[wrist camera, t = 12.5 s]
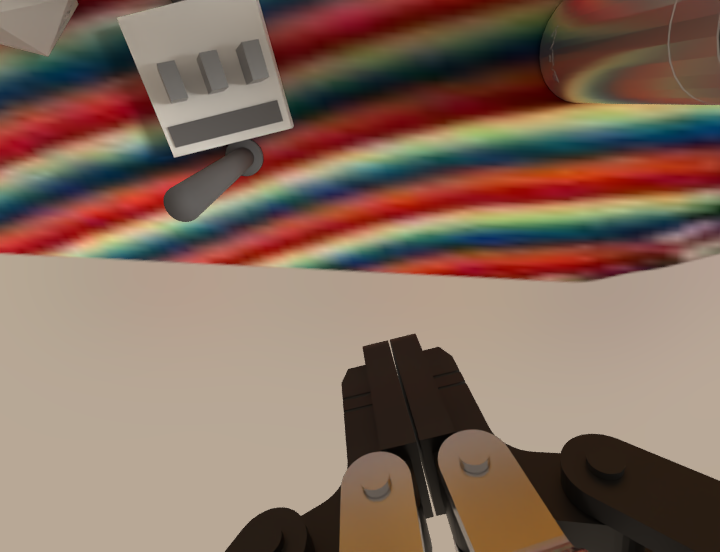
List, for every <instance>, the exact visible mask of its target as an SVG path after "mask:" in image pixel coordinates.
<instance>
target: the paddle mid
mask: <svg viewBox="0 0 720 552" xmlns="http://www.w3.org/2000/svg"><path fill="white" fill-rule="evenodd" d="M197 63H198V66H199V69H200V71H201V74H202V77H203V80H204V83H205V86H206V88H207V91H208V94H213V93H218V92H222V91H225V90H226V89H227V88H228V87H229V86H228V83H227V80H226V77H225V74H224V71H223V68H222V65H221V62H220V59H219V56H218V53H217V50H211V51H206V52H201V53H199V54H198V57H197Z"/></svg>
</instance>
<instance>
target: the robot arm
mask: <svg viewBox="0 0 720 552" xmlns="http://www.w3.org/2000/svg"><path fill="white" fill-rule="evenodd" d="M539 59H540V67H541V72H542V75H543V78H544V81H545V83H546V84H547V86H548V87H549V89H550V90H551V91H552V92H553V93H554V94H555V95H556V96H557V97H559V98H561V99H563V100H565V101H569V102H573V103H605V104H688V105H720V0H563V2H562V3H561V4H560V5H559V6H558V7H557V8H556V10H555V11H554V13H553V14H552V16H551V18H550V19H549V21H548V23H547V26H546V28H545V30H544V33H543V37H542V41H541V45H540V57H539ZM390 343H391V348H392V352H393V356H394V361H395V364H394V361H393V357H392V354H391V350H390V347H389V343H388V341H383V342H379V343H375V344H371V345H367V346H363V352H364V358H365V364H366V365H363V366H359V367H355V368H351V369H348V371H347V373H346V375H345V377H344V379H343V382H342V395H343V408H344V421H345V433H346V446H347V459H348V468H347V471H346V473H345V474H344V476H343V479H342V483H341V486H340V487H339V489H338V490H337V491H336V492H335V494H334V495H333V496H331V497H330V498H329V499H328V500H327V501H325V502H324V503H322V504H321V505H319V506H317V507H316V508H314V509H312V510H311V511H309V512H307V513H305V514H304V515H302V516H300V515H299V514H298V513H297V512H295V511H294V510H291V509H289V508H273V509H270V510H267V511H265V512H263V513H261V514H259V515H257V516H256V517H255V518H253V519H252V520H251V521H250V522H249V523H248V524H247V525H246V526H245V527H244V528H243V529H242V531H241V532H240V533H239V535H238V536H237V537H236V538H235V540H234V541H233V542H232V543H231V545H230V546H229V547H228V548H227V550H226V551H225V552H432V545H431V539H430V535H429V531H428V527H427V523H426V518H430V517H433V512H432V507H431V503H430V499H429V494H428V490H427V485H426V481H425V477H426V480H427V484H428V487H429V491H430V494H431V498H432V501H433V505H434V508H435V512H436V515H437V516H438V515H442V514H447V518H448V521H449V524H450V527H451V531H452V534H453V539H454V544H455V549H456V552H720V481H718V480H716V479H714V478H711V477H709V476H706V475H704V474H702V473H699V472H697V471H694V470H692V469H689V468H687V467H684V466H682V465H679V464H677V463H675V462H672V461H670V460H667V459H665V458H663V457H660V456H658V455H655V454H653V453H650V452H648V451H646V450H643V449H641V448H638V447H636V446H633V445H631V444H628V443H626V442H624V441H621V440H619V439H616V438H613V437H610V436H606V435H600V434H586V435H580V436H577V437H575V438H572V439H571V440H569V441H568V442H567V443H566V444H565V445H564V447H563V449H562V451H561V453H544V452H529V451H524V450H519V449H516V448H514V447H511V446H509V445H507V444H505V443H504V442H503V441H502V440H501V439H499V438H498V437H496V436H495V435H494V434H493V433H492V431H491V430H490V428H489V426H488V425H487V423H486V421H485V419H484V417H483V415H482V413H481V411H480V409H479V407H478V405H477V403H476V402H475V400H474V398H473V396H472V394H471V392H470V390H469V388H468V386H467V384H466V383H465V380H464V378H463V376H462V374H461V372H459V369H458V367H457V365H456V363H455V361H454V359H453V357H452V356H451V355H450V354H448V353H447V352H445V351H444V350H442V349H441V348H440V347H436V348H432V349H428V350H424V351H422V348H421V346H420V344H419V341H418V339H417V336H416V334H411V335H407V336H403V337H399V338H395V339H391V340H390ZM395 365H396V368H395ZM396 369H397V371H396ZM397 374H398V375H397ZM421 462H422V464H421ZM422 466H423V468H422ZM423 469H424V472H423ZM424 473H425V477H424Z"/></svg>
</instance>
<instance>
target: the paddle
mask: <svg viewBox="0 0 720 552" xmlns="http://www.w3.org/2000/svg"><path fill="white" fill-rule="evenodd" d="M157 70H158V73H159V75H160V78H161V80H162V83H163V85H164V88H165V90H166V93H167V95H168V98H169V100H170V103H171V104H173V103H178V102H182V101H187V99H188V95H187V92H186V89H185V87H184V84H183V81H182V79H181V76H180V73H179V71H178V68H177V65H176V63H175V60H172V61H167V62H162V63H157Z"/></svg>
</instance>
